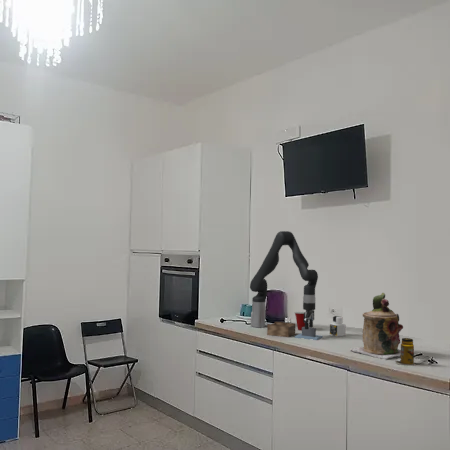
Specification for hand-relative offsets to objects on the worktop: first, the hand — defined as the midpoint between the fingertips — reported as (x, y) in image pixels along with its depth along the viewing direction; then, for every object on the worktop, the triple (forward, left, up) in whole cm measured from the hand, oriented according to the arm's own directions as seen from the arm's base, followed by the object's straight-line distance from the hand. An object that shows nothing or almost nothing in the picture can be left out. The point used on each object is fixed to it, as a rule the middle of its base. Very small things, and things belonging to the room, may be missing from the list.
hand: (308, 328), depth 308 cm
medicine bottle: (+13, +19, -6) cm, 24 cm away
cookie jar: (+47, -23, -6) cm, 53 cm away
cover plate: (0, 0, -6) cm, 6 cm away
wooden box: (-18, 0, -6) cm, 19 cm away
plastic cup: (-13, +26, -6) cm, 30 cm away
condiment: (+62, -41, -6) cm, 75 cm away
